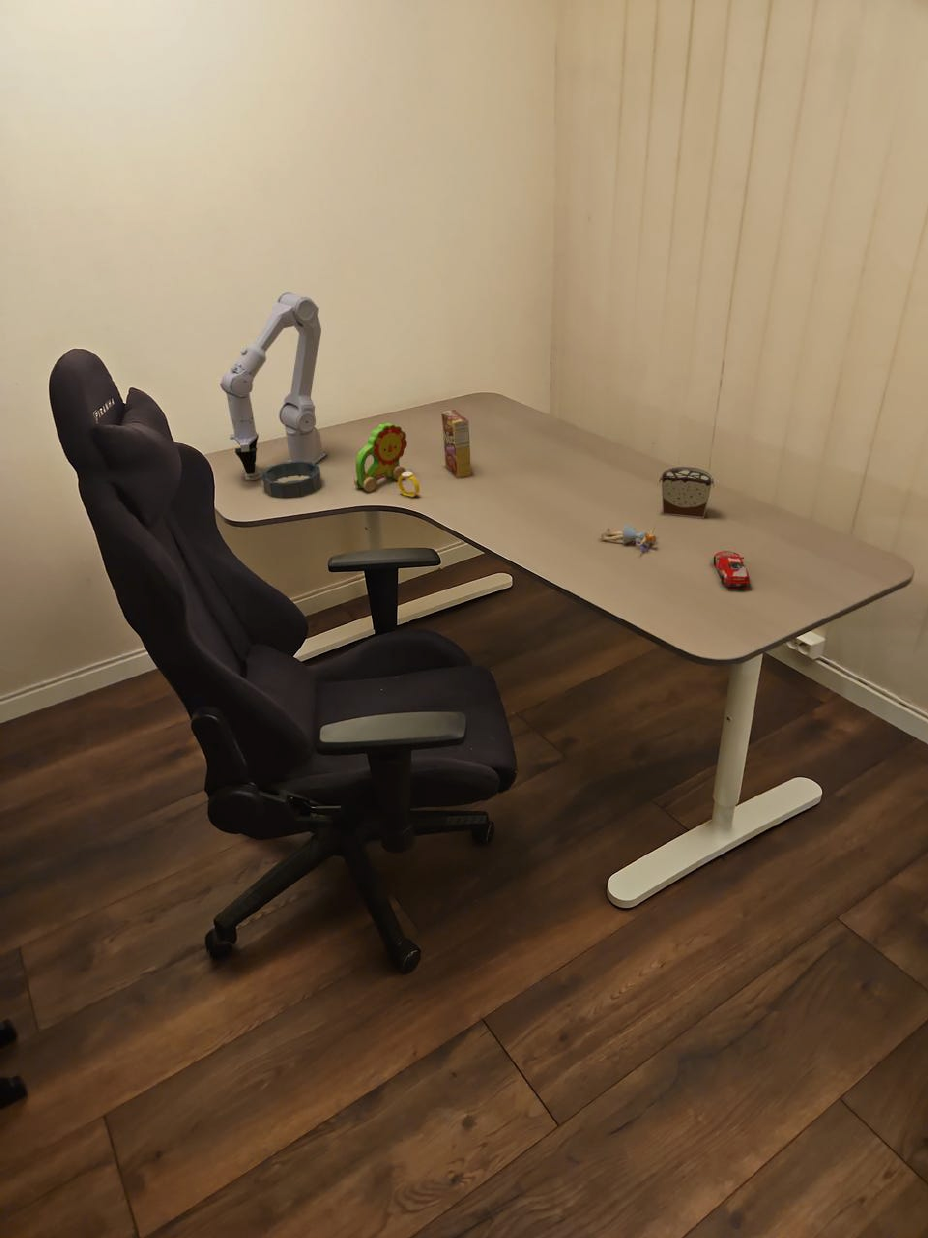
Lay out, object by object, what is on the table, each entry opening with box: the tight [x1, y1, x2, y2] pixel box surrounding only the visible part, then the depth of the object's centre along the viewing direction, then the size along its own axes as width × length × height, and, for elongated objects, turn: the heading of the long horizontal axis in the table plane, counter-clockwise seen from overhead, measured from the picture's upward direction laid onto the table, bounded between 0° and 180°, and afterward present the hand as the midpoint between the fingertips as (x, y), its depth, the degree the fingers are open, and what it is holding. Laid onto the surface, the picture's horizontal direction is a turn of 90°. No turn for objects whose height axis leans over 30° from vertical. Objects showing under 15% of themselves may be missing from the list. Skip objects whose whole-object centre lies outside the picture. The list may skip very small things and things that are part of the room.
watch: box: [397, 471, 420, 498], centre depth 221 cm, size 6×3×6 cm, turn 53°
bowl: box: [261, 461, 322, 499], centre depth 230 cm, size 15×15×4 cm
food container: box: [659, 466, 715, 519], centre depth 206 cm, size 12×6×10 cm, turn 71°
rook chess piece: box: [243, 462, 262, 482], centre depth 235 cm, size 4×4×8 cm
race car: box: [713, 550, 750, 588], centre depth 181 cm, size 13×5×4 cm, turn 177°
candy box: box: [441, 409, 472, 479], centre depth 231 cm, size 9×4×15 cm, turn 23°
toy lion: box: [353, 422, 408, 493], centre depth 227 cm, size 16×5×15 cm, turn 134°
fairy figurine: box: [600, 524, 657, 553], centre depth 195 cm, size 12×5×12 cm
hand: (251, 467), depth 235 cm, fingers open, 7 cm apart
